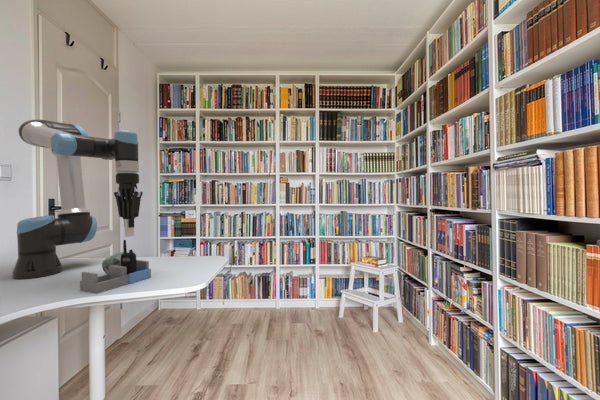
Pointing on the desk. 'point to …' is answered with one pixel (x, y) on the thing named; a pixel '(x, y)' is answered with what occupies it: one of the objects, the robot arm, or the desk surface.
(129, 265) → the two-way radio
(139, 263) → the blue-ended grey tray
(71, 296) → the desk surface
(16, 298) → the desk surface
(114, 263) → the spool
